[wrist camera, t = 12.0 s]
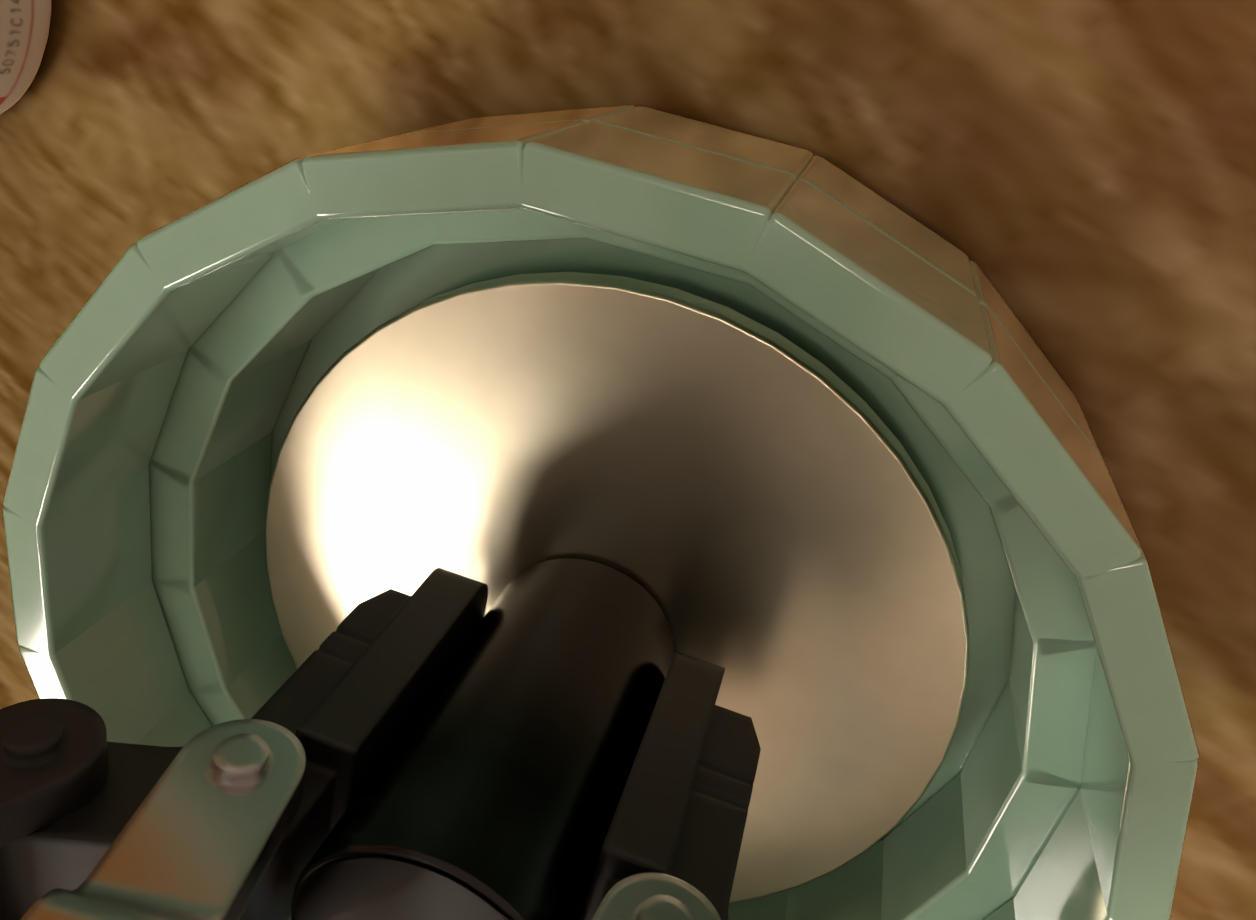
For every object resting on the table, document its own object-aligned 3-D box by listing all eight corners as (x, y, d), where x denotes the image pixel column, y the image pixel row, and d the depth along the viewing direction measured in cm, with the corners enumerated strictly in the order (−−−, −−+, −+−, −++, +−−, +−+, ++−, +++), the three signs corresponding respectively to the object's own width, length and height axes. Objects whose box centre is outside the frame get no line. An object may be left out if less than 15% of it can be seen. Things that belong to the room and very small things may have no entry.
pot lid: (322, 169, 13) (-129, 285, 8) (1097, 394, 12) (1273, 755, 6) (288, 730, 18) (-2, 1060, 12) (831, 939, 17) (789, 1423, 11)
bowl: (230, -10, 13) (-61, -20, 9) (1324, 280, 11) (1549, 425, 7) (219, 747, 20) (46, 928, 16) (902, 1014, 18) (898, 1299, 14)
